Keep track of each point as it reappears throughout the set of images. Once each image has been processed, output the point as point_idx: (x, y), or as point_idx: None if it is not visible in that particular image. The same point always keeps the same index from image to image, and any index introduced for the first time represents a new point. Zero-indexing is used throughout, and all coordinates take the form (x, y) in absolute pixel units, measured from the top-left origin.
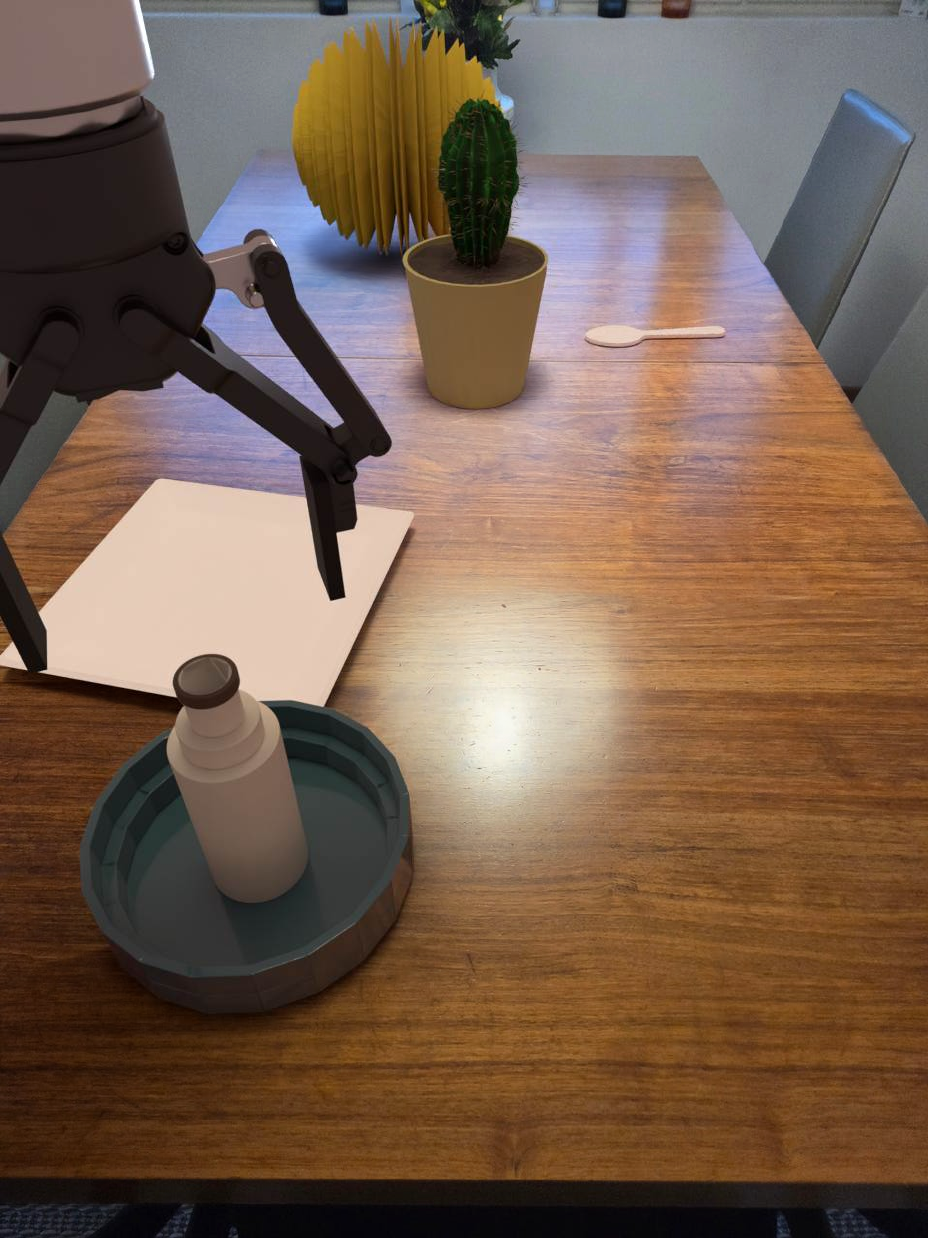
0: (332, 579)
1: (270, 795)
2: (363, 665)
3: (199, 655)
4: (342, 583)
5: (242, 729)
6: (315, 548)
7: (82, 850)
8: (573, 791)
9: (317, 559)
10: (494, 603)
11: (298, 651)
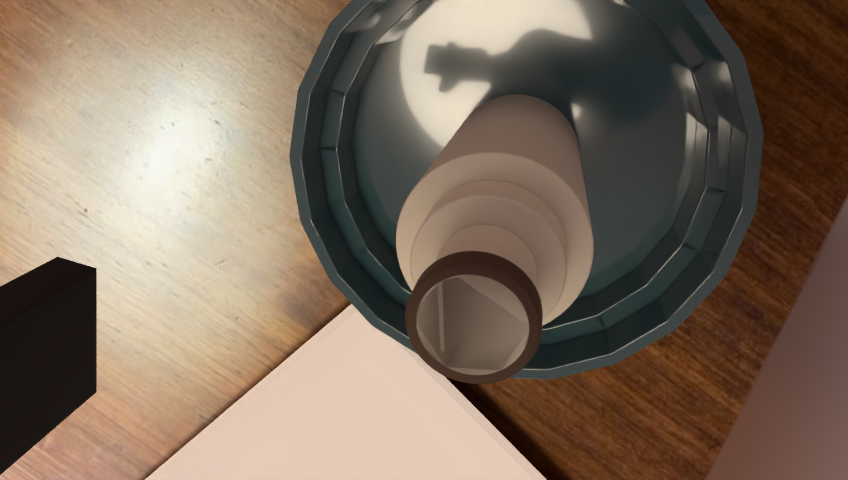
0: (26, 297)
1: (470, 138)
2: (276, 344)
3: (445, 473)
4: (18, 278)
5: (458, 219)
6: (36, 426)
7: (724, 269)
8: (128, 19)
9: (63, 401)
10: None
11: (336, 407)
